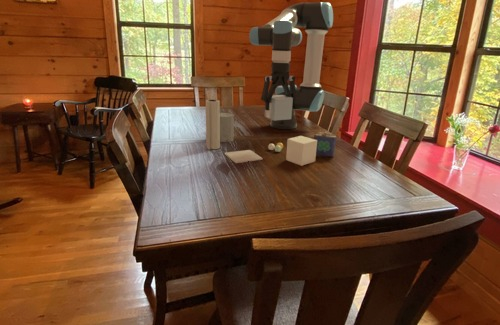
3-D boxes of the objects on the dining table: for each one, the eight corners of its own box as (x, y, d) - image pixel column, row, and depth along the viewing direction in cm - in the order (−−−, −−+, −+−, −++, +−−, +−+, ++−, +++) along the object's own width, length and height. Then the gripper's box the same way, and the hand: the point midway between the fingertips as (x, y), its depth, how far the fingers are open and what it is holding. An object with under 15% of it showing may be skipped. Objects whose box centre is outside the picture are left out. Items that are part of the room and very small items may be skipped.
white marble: (272, 149, 149) (273, 143, 149) (275, 151, 147) (276, 144, 146) (266, 149, 148) (267, 142, 147) (269, 150, 145) (271, 143, 145)
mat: (249, 151, 145) (249, 149, 145) (262, 159, 135) (262, 158, 135) (224, 154, 140) (224, 152, 140) (235, 163, 130) (235, 161, 130)
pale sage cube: (281, 115, 147) (282, 94, 144) (291, 119, 140) (292, 97, 136) (264, 116, 143) (265, 95, 140) (274, 120, 136) (275, 98, 133)
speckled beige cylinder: (230, 143, 156) (231, 117, 152) (211, 141, 158) (211, 116, 154) (235, 137, 165) (236, 113, 161) (217, 136, 167) (217, 112, 162)
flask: (334, 155, 142) (337, 131, 139) (333, 157, 140) (336, 133, 136) (312, 153, 145) (314, 129, 141) (312, 155, 142) (314, 131, 138)
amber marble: (277, 149, 151) (282, 144, 151) (281, 151, 148) (285, 146, 148) (274, 145, 149) (278, 140, 149) (277, 146, 146) (282, 142, 147)
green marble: (279, 150, 147) (279, 144, 146) (282, 152, 145) (282, 146, 144) (273, 151, 146) (273, 144, 145) (276, 153, 143) (276, 146, 142)
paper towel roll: (214, 145, 152) (213, 98, 145) (222, 148, 148) (222, 100, 141) (201, 148, 148) (200, 100, 140) (209, 151, 144) (209, 102, 136)
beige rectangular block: (299, 156, 141) (301, 135, 138) (315, 161, 135) (317, 140, 132) (286, 159, 136) (287, 138, 132) (301, 165, 130) (303, 143, 127)
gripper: (297, 61, 141) (293, 113, 149) (253, 61, 132) (251, 116, 140) (307, 62, 135) (303, 117, 143) (262, 62, 126) (259, 120, 134)
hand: (277, 116), depth 141 cm, fingers closed on pale sage cube, 8 cm apart
